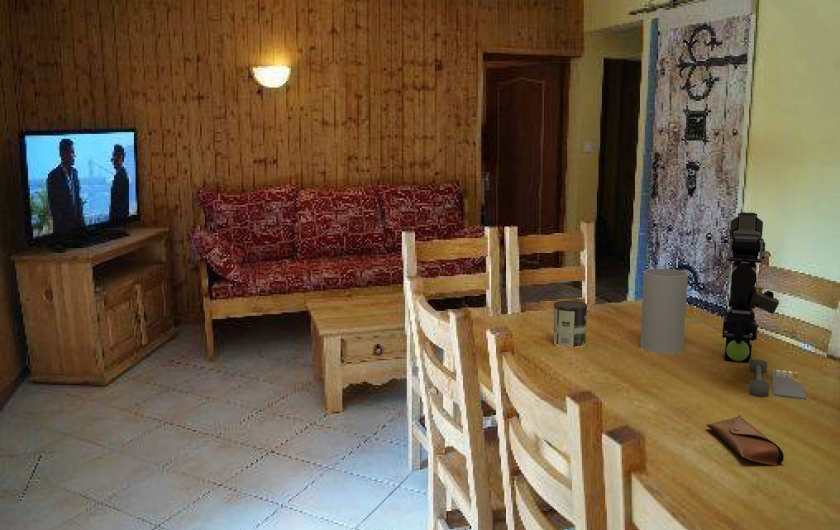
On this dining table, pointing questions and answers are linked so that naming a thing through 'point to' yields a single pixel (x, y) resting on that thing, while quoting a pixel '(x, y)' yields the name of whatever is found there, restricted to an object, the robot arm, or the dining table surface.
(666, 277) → the cylinder vase
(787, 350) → the dining table surface
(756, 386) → the gray dumbbell
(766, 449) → the sunglasses case
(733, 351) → the green bulbous piece
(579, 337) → the coffee can
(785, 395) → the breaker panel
